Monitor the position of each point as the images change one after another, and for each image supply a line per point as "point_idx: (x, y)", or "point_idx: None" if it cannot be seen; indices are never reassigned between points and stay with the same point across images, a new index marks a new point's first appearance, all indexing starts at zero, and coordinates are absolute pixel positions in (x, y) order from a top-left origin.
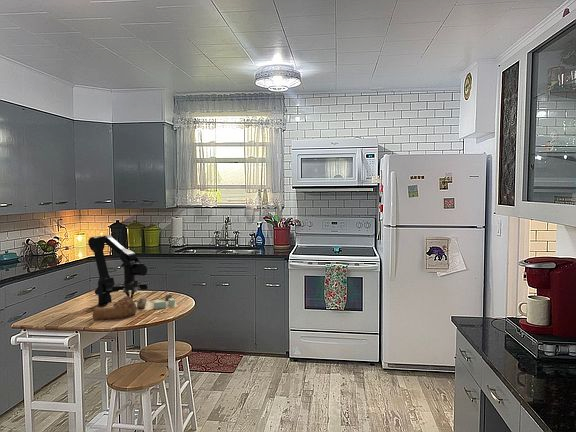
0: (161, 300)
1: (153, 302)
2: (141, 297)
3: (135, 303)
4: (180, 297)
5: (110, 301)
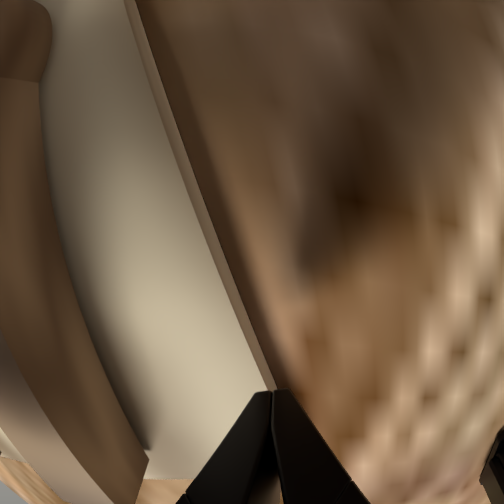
0: (2, 437)
1: None
2: (91, 490)
3: (213, 434)
4: (4, 477)
5: (499, 466)
